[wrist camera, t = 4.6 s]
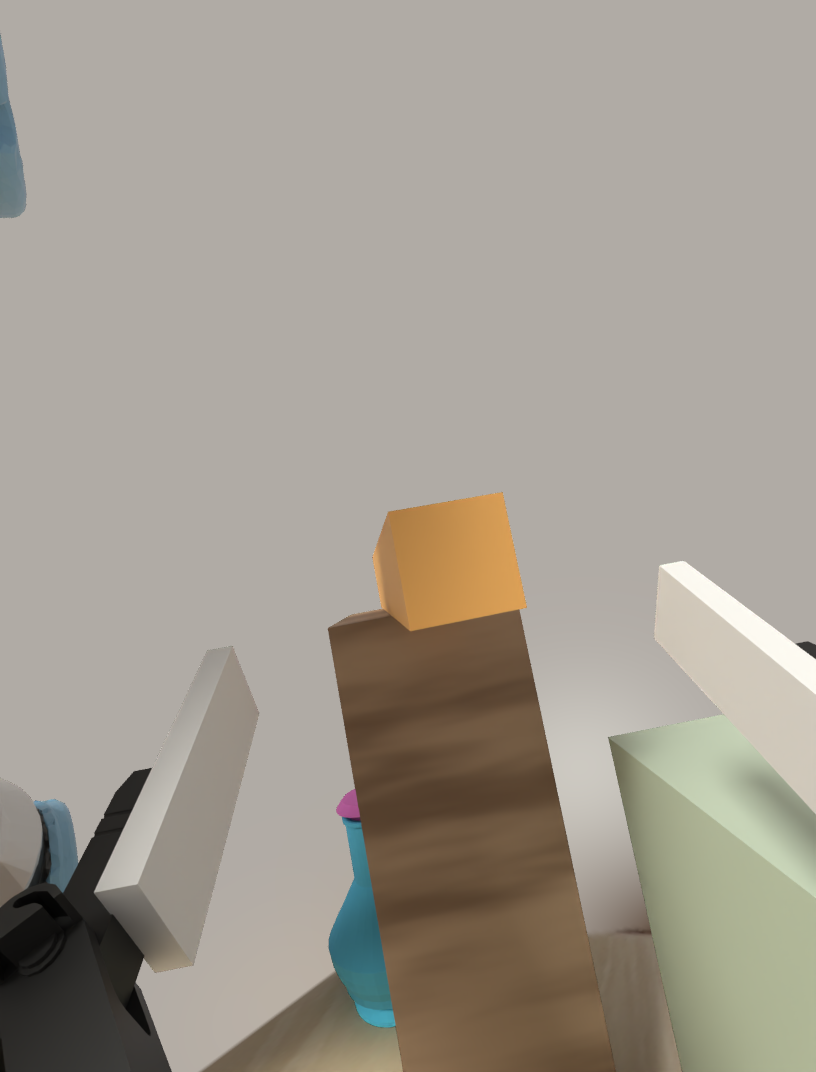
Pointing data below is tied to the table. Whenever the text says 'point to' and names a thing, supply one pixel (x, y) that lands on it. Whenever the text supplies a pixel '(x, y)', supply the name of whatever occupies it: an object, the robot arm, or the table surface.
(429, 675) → the post
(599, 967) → the table surface
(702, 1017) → the pale green rectangular block
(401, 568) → the bar
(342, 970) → the perfume bottle
